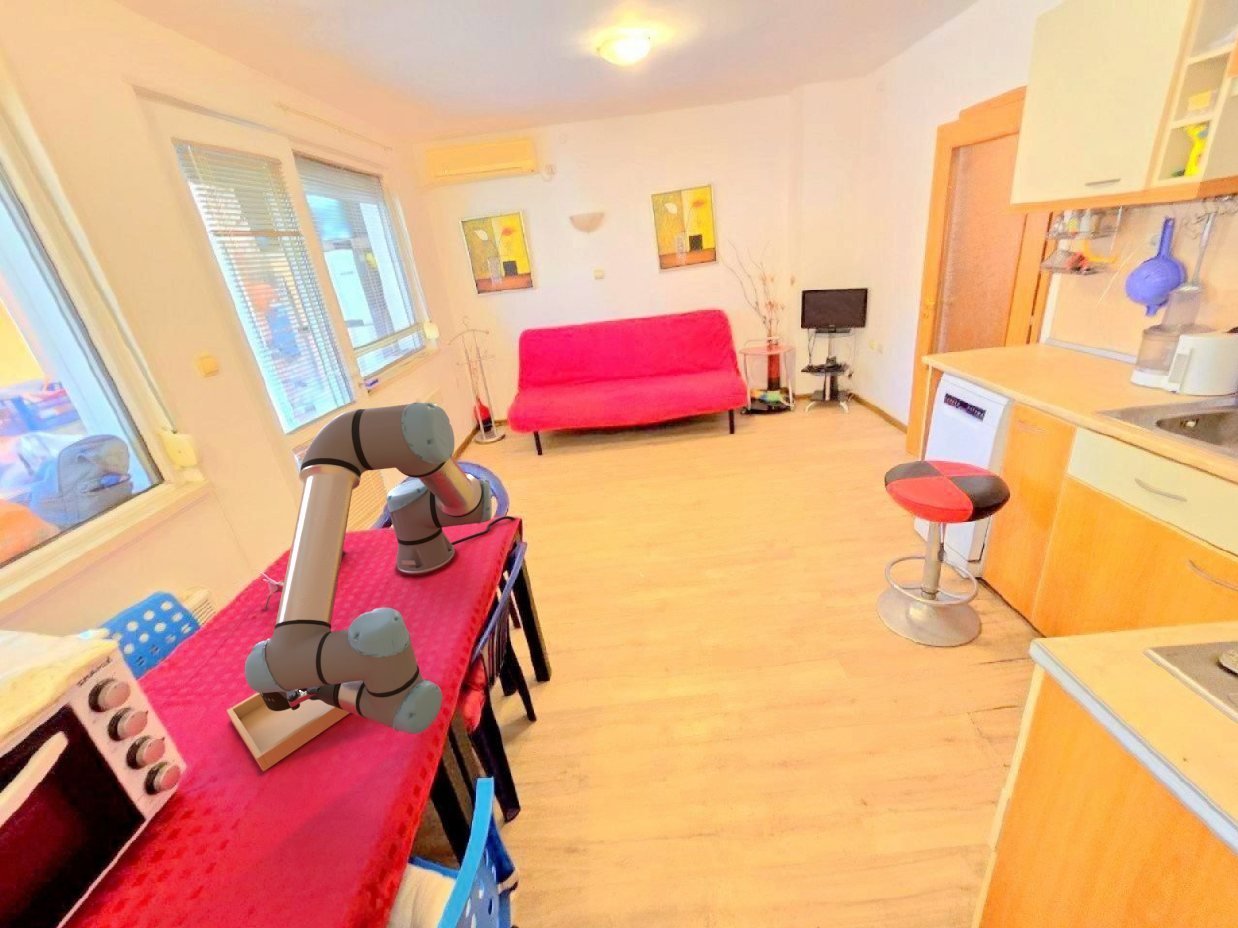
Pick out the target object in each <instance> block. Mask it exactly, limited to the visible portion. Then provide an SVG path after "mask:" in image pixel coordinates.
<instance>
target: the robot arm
mask: <svg viewBox="0 0 1238 928" xmlns="http://www.w3.org/2000/svg"><path fill="white" fill-rule="evenodd" d="M454 451H455V434H454V428H453V425H452V424H451V423H450V418H449V416H448V414H447V412H446V411H445V410H444V409H443V408H442V406H440V405H438V404H437V403H434V402H417V401H416V402H412V403H406V404H399V405H398V404H397V405H389V406H379V407H370V408H357V409H351V410H348V411H345V412H343V413H341V414H339V415H337V416H335V417H334V418H332V419H331V420H330V421H329V422H328V423H326V424H325V425H324V426H323V427H322V428H321V429H320V430H319V431H318V433H317V434H316V435H315V436H314V438H313V439H312V441H311V442H310V444H309V446H308V448H307V449H306V451H305V454H304V456H303V458H302V461H301V465H300V469H299V474H298V479H299V481H300V482H301V483H302V484H303V488H302V493H301V498H300V502H299V506H298V507H299V508H298V513H297V516H296V517H297V518H296V521H295V522H296V523H295V526H294V532H293V536H292V540H291V541H292V542H291V546H290V550H289V555H288V562H287V566H286V571H285V576H284V579H285V580H283V583H284V585H283V590H282V592H281V595H280V601H279V605H278V610H277V615H276V620H275V624H274V627H273V634H272V637H271V638H267V639H266V640H262V641H258V642H259V643H258V642H256V643H255V645H254V646H253V647H252V649H251V652H250V653H251V654H250V653H249V654H248V655H247V657H246V659H247V660H246V659H245V662H246V665H245V664H244V674H245V676H244V677H245V680H246V683H247V684H248V687H250V688H251V690H252V691H254V692H256V693H269V692H278V693H280V694H281V695H282V696H283V697H284V698H286V699H287V700H288V702H289V704H290V706H291V709H292V710H296V709H298V708H299V707H300V703H301V702H303V701H305V700H307V699H310V700H321V701H323V702H324V703H326V704H328V705H331V706H334V707H336V708H339V709H342V710H345V711H348V712H350V714H354V715H356V716H359V717H362V718H365V719H368V720H371V721H374V722H376V723H379V724H381V725H383V726H385V727H388V728H391V729H393V730H394V731H397V732H402V733H407V734H411V735H417V734H421V733H423V732H424V731H426V730H427V729H428V728H429V727H430V726H431V725H432V723H433V722H435V720H436V718H437V717H438V715H439V713H440V710H441V707H442V704H443V693H442V692H443V691H442V689H441V688H440V686H439V685H438V684H437V683H435V682H433V681H431V680H430V679H424V678H423V677H422V674H421V670H420V667H419V665H418V662H417V658H416V655H415V652H414V651H415V650H414V647H413V643H412V640H411V634H410V631H409V629H408V628H407V625H406V623H405V620H404V618H403V615H402V614H401V612H400V611H399V610H397V609H395V608H392V607H386V606H385V607H376V608H374V609H373V610H371V611H365V612H363V613H361V614H360V615H358V616H357V617H355V618H354V619H353V621H351V623H350V625H348V628H347V629H340V630H333V631H332V623H333V615H334V609H335V602H336V597H337V591H338V590H337V589H338V584H339V577H340V573H341V571H340V570H341V564H342V558H343V556H342V553H343V551H344V545H345V540H346V539H345V538H346V532H347V526H348V520H349V514H350V507H351V501H352V496H353V490H355V489H357V488H358V487H359V486H360V483H361V479H362V478H361V476H362V475H363V473H365V472H368V471H378V470H388V469H396V470H398V472H399V473H401V474H403V476H406V477H409V478H412V479H411V480H408V481H405V482H402V483H400V484H398V485H396V486H395V487H394V488H392V489H391V490H390V491H389V492H388V494H387V496H386V503H387V512H388V513H389V516H390V519H391V520H390V521H391V523H392V527H393V531H394V533H395V537H396V540H397V550H396V551H397V553H396V560H395V561H396V562H395V564H396V567H397V572H398V573H399V574H400V575H402V576H405V577H408V578H419V577H424V576H429V575H432V574H435V573H438V572H440V571H442V570H444V569H446V568H447V567H448V566H449V565H451V564H452V563H453V561H455V558H456V551H455V547H454V546H455V545H457V544H461V543H463V542H467V541H469V540H472V539H474V538H478V537H480V536H484V535H486V534H488V533H489V532H490V530H491V527H493V525H495V524H497V523H498V522H500V521H504V520H511V521H514V520H515V517H513V516H511V515H505V516H501V517H499V518H497V519H495V520H493V521H491V519H492V516H493V505H492V503H493V502H492V490H491V483H490V480H489V479H488V478H478V479H477V478H476V477H475V476H473V474H470V473H468V472H465V471H464V470H463V469H462V467H461V466H460V464H459V463H458V462H457V460H456V459H455V458H454V456H453V455H454ZM413 478H414V479H413ZM489 521H491V522H490V523H488V524H487V527H486V530H483V531H481V532H478V533H477V532H476V533H474V534H471V535H469V536H466V537H462V538H460V539H457V540H455V541H452V542H451V541H450V539H449V538H448V537H447V535H446V534H445V532H444V530H443V528H448V527H456V526H465V525H466V526H467V525H473V524H478V525H481V524H482V523H487V522H489ZM303 688H306V691H305V692H302V691H301V690H299V689H303Z"/></svg>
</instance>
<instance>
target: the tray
mask: <svg viewBox="0 0 1238 928" xmlns="http://www.w3.org/2000/svg"><path fill="white" fill-rule="evenodd" d="M226 713H227V715H228V717H229V719H230V721H231V723H232V725H233V726H234V728H235V730H236V731H237V733H238V734H239V736H240V737H241V739H242V741H243V742H244V744H245V745H246V747H247V748H248V750H249V752H250V754H251V755H252V756H253V758H254V760H255V761H256V763H257V764H258V766H259V768H260V769H261V771H262V772H265V771H267V770H268V769H269V768H271V767H272V766H274V765H276V764H277V763H278V762H280V761H281V760H283V759H284V758H286V757H288V756H289V755H290V754H291V753H293V752H295V751H296V750H298V749H299V748H301V747H302V746H303V745H305V744H307V743H308V742H309V741H311V740H313V739H314V738H315V737H316V736H318V735H320V734H321V733H323V732H324V731H325V730H327V729H329V728H330V727H331V726H333V725H334V724H336V723H338V722H339V721H340V720H342V719H343V718H345V717H346V716H348V715H349V714H351V712H348V711H345V710H342V709H339V708H336V707H334V706H331V705H328V704H326V703H324V702H323V701H321V700H310V699H307V700H305V701H303V702H301V703H300V707H299V708H298V709H296V710H292V709H291V708H290V709H287V710H284V711H272V710H270V709H269V708H268V707H267V706H266V704H265V702H264V700H263V698H262V697H261V695H260V693H258V692H256V693H254V694H252V695H250V696H249V697H247V698H245V699H244V700H242V701H240V702H238V703H237V704H235V705H233V706H232V707H229V708H228V709H226Z"/></svg>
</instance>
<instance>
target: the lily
mask: <svg viewBox="0 0 1238 928" xmlns="http://www.w3.org/2000/svg"><path fill="white" fill-rule="evenodd" d="M253 570H254V571H256V572H258V573H259V574H261V575H263V576H264V577H265V578H263V579H262V581H264V582H267V585H268V589H269V595H268V597H267V600H266V603H265V607H264V610H265V611H266V610H267V608H268V604H269V601H270V599H271V596H272V595H273V594H277V593H282V590H283V585H284V580H285V578H283V579H282V578H280V579H279V580H280V581H278V582H277V581H276V580H274V579H272V578H270V577H269V576H268V575H267V574H266V573H264V572H262V571H260V570H257V569H256V568H253Z"/></svg>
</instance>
